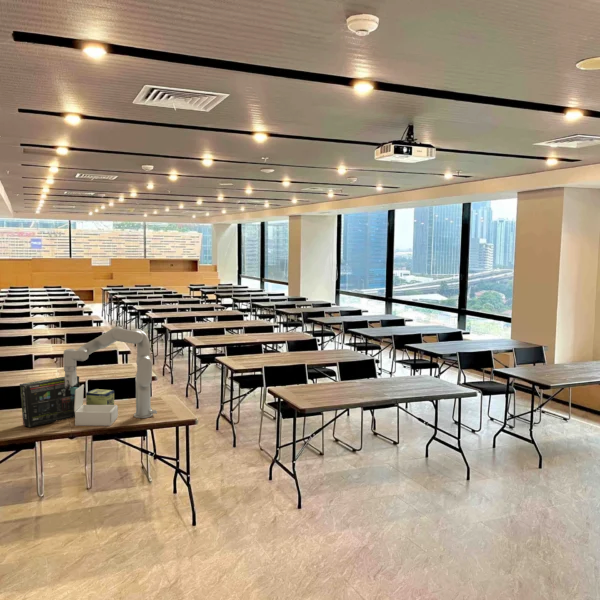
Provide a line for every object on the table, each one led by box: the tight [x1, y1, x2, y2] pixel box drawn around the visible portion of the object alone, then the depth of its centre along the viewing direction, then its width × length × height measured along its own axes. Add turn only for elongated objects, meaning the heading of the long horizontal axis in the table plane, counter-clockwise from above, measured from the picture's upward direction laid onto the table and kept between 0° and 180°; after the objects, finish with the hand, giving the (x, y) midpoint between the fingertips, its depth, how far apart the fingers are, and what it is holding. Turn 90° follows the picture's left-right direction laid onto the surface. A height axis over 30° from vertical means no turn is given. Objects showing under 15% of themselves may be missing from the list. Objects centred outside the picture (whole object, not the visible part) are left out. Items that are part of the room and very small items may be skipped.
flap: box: [70, 384, 85, 412], centre depth 369 cm, size 14×15×6 cm
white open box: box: [74, 404, 119, 427], centre depth 371 cm, size 23×16×9 cm
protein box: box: [85, 388, 115, 405], centre depth 388 cm, size 10×16×16 cm
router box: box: [19, 375, 81, 428], centre depth 370 cm, size 36×11×27 cm, turn 136°
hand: (70, 394), depth 369 cm, fingers open, 9 cm apart
